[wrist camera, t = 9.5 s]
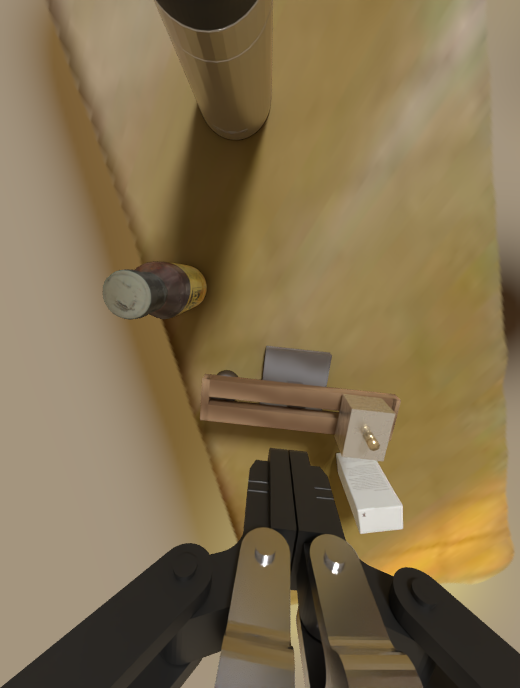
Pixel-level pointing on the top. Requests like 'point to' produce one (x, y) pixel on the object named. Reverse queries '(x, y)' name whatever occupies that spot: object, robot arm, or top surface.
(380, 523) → the skincare box
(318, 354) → the balance beam
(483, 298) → the top surface
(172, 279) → the sauce bottle
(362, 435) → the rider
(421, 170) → the top surface
